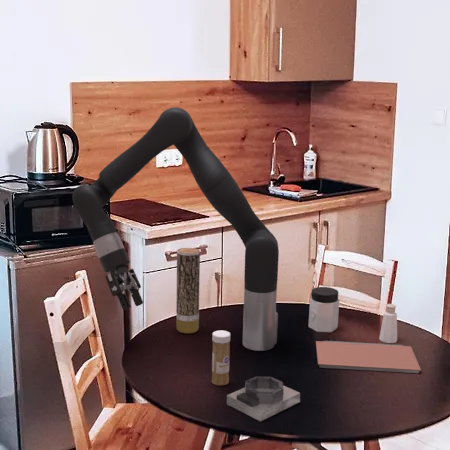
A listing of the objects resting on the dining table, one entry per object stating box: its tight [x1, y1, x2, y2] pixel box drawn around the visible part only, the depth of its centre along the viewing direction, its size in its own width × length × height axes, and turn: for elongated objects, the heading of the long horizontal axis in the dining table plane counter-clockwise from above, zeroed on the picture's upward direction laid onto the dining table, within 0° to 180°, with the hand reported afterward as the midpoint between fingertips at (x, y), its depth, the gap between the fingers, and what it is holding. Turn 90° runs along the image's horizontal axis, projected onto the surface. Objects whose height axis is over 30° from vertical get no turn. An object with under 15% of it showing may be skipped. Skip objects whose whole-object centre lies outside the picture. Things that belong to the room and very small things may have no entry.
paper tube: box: [175, 247, 201, 334], centre depth 210 cm, size 7×7×25 cm
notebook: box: [315, 340, 422, 374], centre depth 196 cm, size 27×17×2 cm, turn 85°
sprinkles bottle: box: [211, 329, 231, 387], centre depth 178 cm, size 5×5×14 cm
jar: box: [308, 286, 340, 333], centre depth 216 cm, size 9×8×12 cm
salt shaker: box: [378, 303, 398, 344], centre depth 208 cm, size 5×5×11 cm
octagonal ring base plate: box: [226, 376, 301, 422], centre depth 169 cm, size 14×11×5 cm
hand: (133, 307), depth 192 cm, fingers open, 8 cm apart
